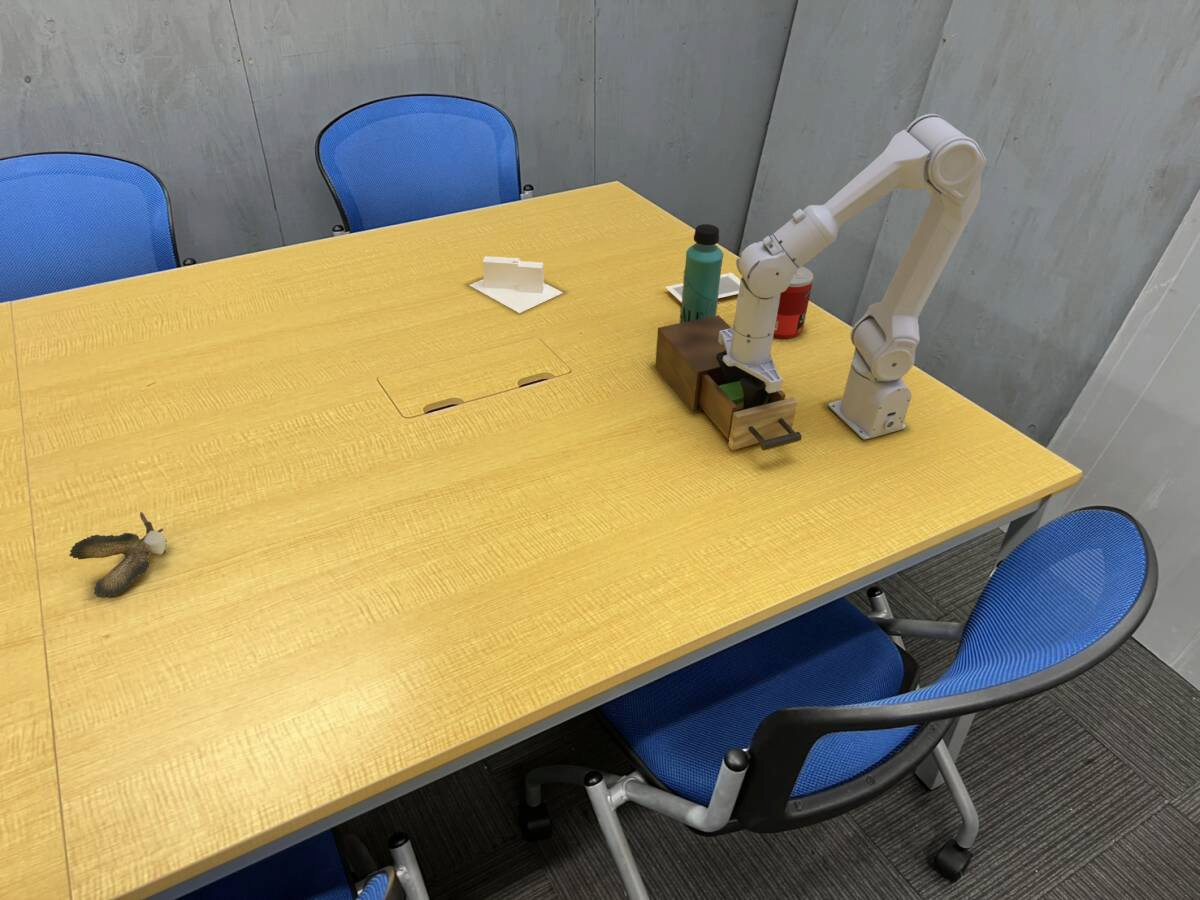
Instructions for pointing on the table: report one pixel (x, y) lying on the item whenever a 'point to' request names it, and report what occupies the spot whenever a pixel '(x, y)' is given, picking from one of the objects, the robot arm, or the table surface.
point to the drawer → (748, 416)
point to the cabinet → (689, 355)
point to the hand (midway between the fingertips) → (741, 405)
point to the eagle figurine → (132, 556)
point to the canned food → (794, 305)
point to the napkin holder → (515, 282)
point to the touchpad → (726, 287)
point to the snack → (736, 394)
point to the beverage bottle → (701, 275)
